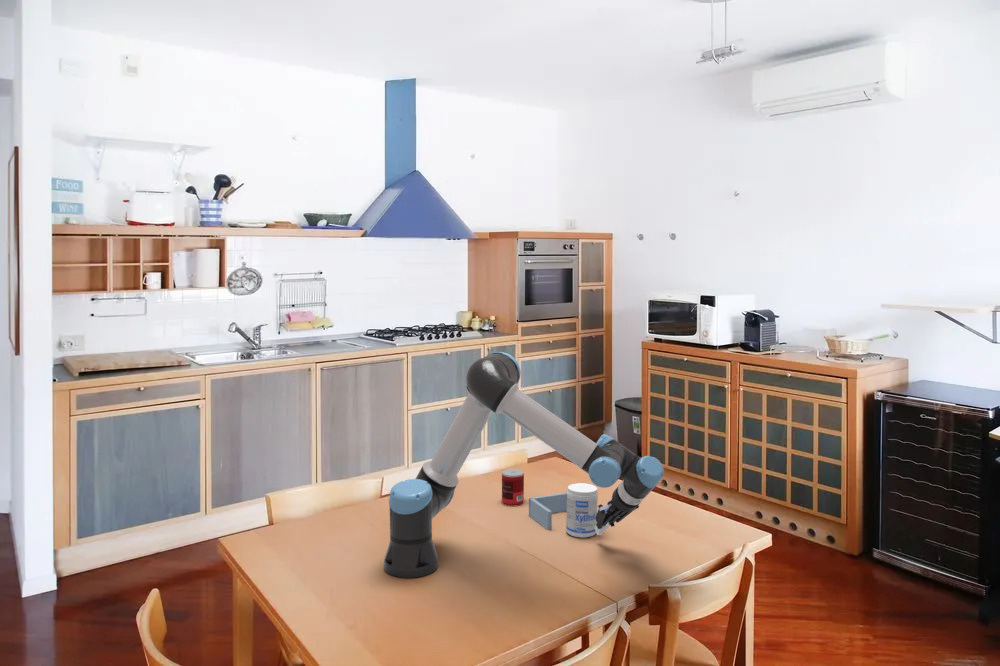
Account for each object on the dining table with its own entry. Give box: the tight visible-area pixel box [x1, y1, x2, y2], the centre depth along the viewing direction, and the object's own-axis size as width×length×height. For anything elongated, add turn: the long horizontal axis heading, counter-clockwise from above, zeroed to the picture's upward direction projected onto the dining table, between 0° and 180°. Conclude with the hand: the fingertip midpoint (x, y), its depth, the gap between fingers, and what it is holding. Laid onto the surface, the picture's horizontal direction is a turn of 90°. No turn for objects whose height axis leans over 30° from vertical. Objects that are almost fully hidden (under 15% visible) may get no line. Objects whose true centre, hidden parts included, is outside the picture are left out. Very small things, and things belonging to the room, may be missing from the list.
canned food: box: [501, 468, 525, 506], centre depth 262 cm, size 8×8×11 cm
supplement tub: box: [565, 482, 599, 539], centre depth 234 cm, size 10×10×15 cm
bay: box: [528, 492, 567, 531], centre depth 246 cm, size 14×17×6 cm
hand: (597, 530), depth 225 cm, fingers closed
